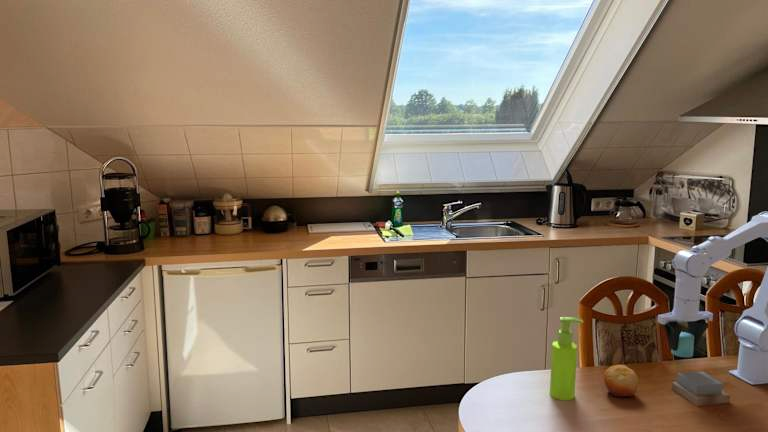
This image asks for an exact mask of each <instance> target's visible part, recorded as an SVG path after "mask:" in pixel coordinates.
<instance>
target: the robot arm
mask: <svg viewBox="0 0 768 432" xmlns="http://www.w3.org/2000/svg"><path fill="white" fill-rule="evenodd" d="M758 238H762V239H764V240H765V241H766V242H767V243H768V211H762V212H760V213H758V214H756V215H753V216H751V219H750V221H749V222H746V223H745V224H744V225H741V226H740V227H737V229H735V230H733V231H731V232H730V233H728V234H727V235H725V236H724V237H721V236H712V235H711V236H710V237H708V238H707V240H705V241H703V242H702V243H700V244H698V245H693V246H692V247H691V249H690V250H688V249H682V250H680V251H678V252H677V253H675V256H674V258H673V259H672V260H671V264H672V265H671V266H672V267H673V268H674V272H675V273H674V275H675V286H674V299H673V309H672V311H670V312H666V313H662V314H658V315H657V323H658V324H660V325H662V327H663V329H664V332H665V334H666V337H667V341H668V346H669V349H672V350H674V351H677V348H678V341H679V336H680V333H681V332H683V329H684V327H682V326H680V325H679V323H685V322H686V323H687V331H688V332H687V333H690V334H692V335H694V348H693V350H697V347H698V345H699V342H700V340H701V339H702V336H703V334H704V333H705V331H707V329H708V328H709V325H710V324H709V323H708V322H712V321H713V319H714V318H713V317H714V313H713V312H710V311H701V310H700V302H701V300H700V299H701V291H702V290H701V289H702V280H703V279H702V277H703V276H704V275H705V274H706V273H707V272H708V270H709V269H710V268H711V267H712V266H713V265H715V264H716V263H718V262H720V261H723V260H724V259H726V258H728V257H729V256H730V255H731V253H732V250H733V249H735V248H737V247H740V246H742V245H745V244H747V243H749V242H751V241H753V240H755V239H758ZM754 300H755V301H754V302H753V305H752V306H751V307H749V308H748V309H744V310H743V311H742V315H741V316H740V318H739V319H737V321H736V322H735V323H734V333H735V335H736V336H737V337H738V340H737V342H739V349H738V359H737V369H732V370H729V371H728V373H729V374H731V375H732V376H735V377H736V378H738V379H741V381H744V382H746V383H748V384H750V385H763V384H768V266H767V267H766V270H765V273H764V275H763V278H762V281H761V283H760V287H759V289H758V292H757V294H756V298H755V299H754ZM706 321H707V322H706Z"/></svg>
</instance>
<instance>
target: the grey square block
mask: <svg viewBox="0 0 768 432" xmlns="http://www.w3.org/2000/svg"><path fill="white" fill-rule="evenodd" d="M676 382H677V383H678V384H680V385H681V386H683V387H684V388H686V389H687V390H689V391H690V392H692V393H693V394H695V395H707V394H719V393H722V391H723V383H722V382H721V381H719V380H717V379H715V378H714V377H712V376H710V375H709V374H707V373H705V372H704V371H692V372H678V373H677V377H676Z"/></svg>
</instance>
